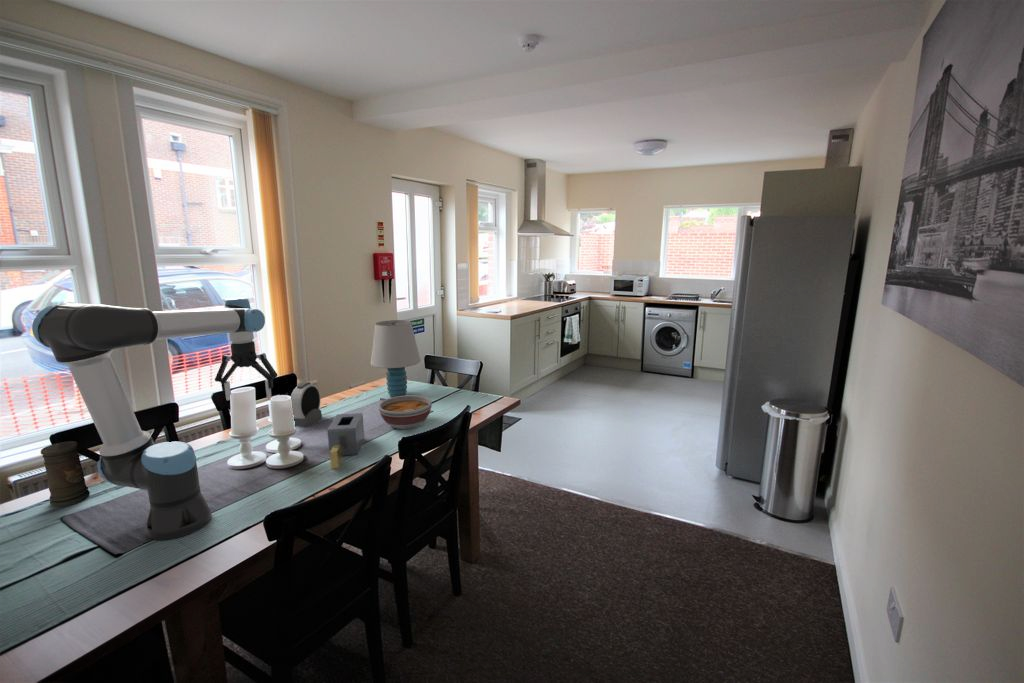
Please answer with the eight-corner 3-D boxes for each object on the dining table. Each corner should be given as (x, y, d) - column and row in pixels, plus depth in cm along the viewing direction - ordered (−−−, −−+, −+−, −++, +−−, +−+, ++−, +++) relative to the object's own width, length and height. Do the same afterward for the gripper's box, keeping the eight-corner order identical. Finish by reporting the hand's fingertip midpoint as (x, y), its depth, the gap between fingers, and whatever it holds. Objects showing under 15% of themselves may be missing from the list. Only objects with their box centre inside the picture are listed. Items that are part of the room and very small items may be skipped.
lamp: (407, 385, 265) (404, 317, 257) (430, 396, 246) (427, 322, 238) (365, 394, 249) (359, 322, 241) (385, 406, 230) (380, 328, 222)
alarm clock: (307, 428, 203) (303, 388, 199) (286, 427, 204) (281, 387, 201) (327, 415, 218) (324, 378, 215) (307, 414, 220) (303, 377, 216)
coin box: (364, 438, 192) (362, 413, 190) (357, 455, 176) (355, 427, 174) (339, 439, 191) (337, 414, 188) (329, 457, 175) (327, 429, 173)
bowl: (437, 429, 200) (436, 407, 198) (383, 438, 192) (381, 415, 190) (426, 412, 221) (426, 392, 219) (377, 419, 213) (375, 398, 211)
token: (338, 468, 166) (336, 451, 165) (331, 468, 166) (329, 451, 164) (342, 460, 172) (340, 444, 171) (335, 461, 172) (333, 444, 170)
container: (43, 509, 141) (30, 454, 138) (62, 494, 150) (51, 442, 146) (79, 504, 143) (67, 450, 140) (96, 490, 152) (85, 438, 148)
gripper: (282, 337, 172) (288, 392, 176) (208, 340, 168) (216, 397, 172) (276, 341, 165) (282, 399, 169) (198, 344, 160) (207, 403, 165)
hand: (249, 398), depth 170 cm, fingers open, 13 cm apart
